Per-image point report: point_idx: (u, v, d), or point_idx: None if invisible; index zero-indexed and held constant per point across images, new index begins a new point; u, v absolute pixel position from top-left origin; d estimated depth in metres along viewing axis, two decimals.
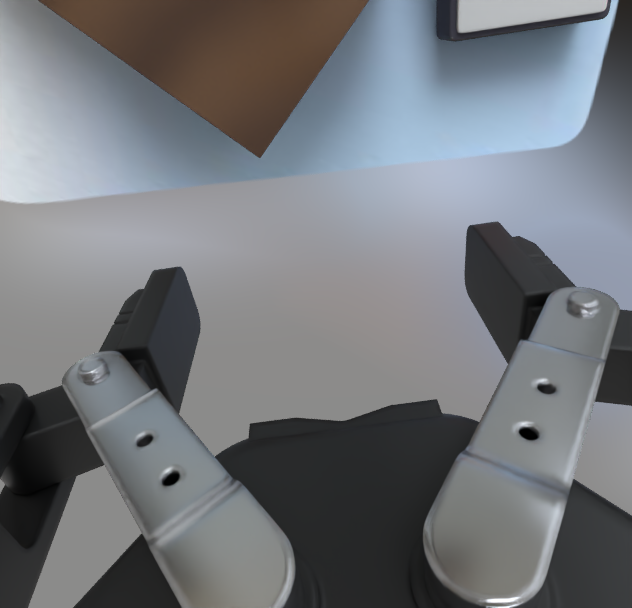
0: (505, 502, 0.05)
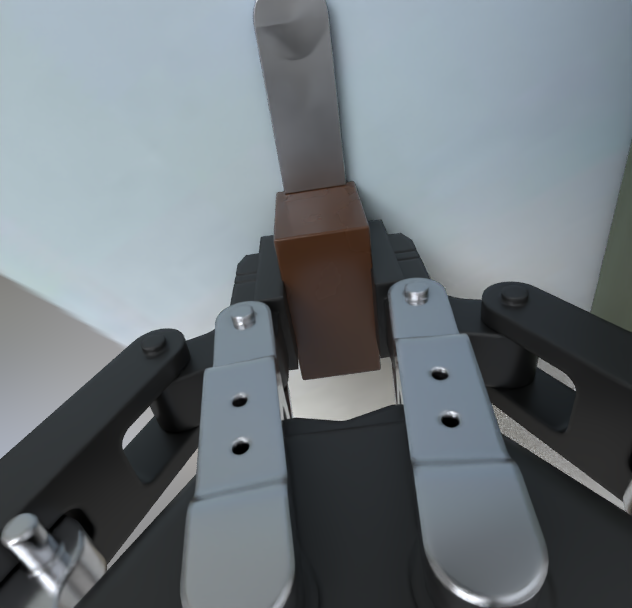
0: (477, 494, 0.05)
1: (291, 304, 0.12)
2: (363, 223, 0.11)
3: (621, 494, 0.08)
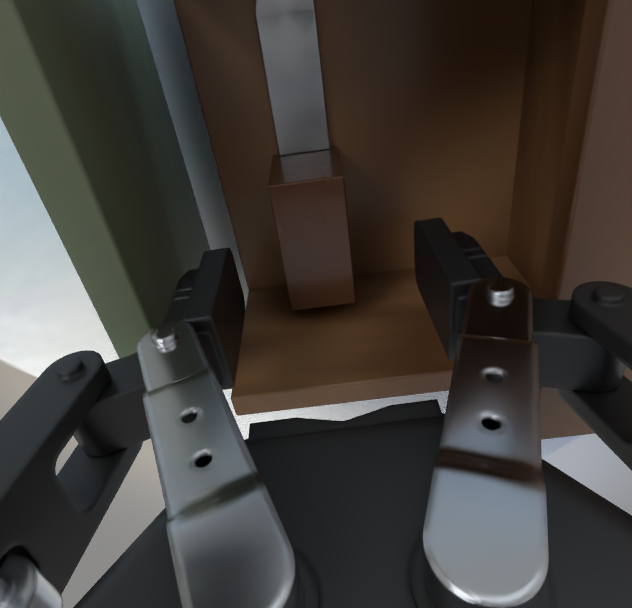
0: (492, 496, 0.05)
1: (282, 242, 0.14)
2: (339, 174, 0.13)
3: None
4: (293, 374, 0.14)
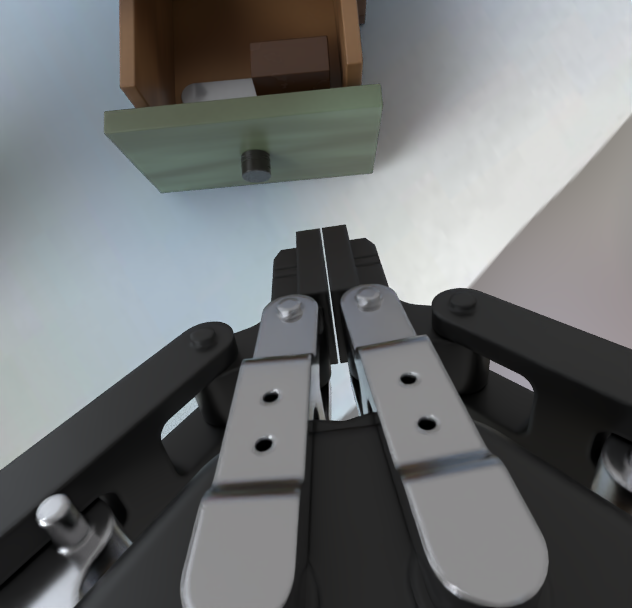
0: (468, 494, 0.05)
1: (283, 72, 0.26)
2: (250, 46, 0.27)
3: None
4: (343, 39, 0.24)
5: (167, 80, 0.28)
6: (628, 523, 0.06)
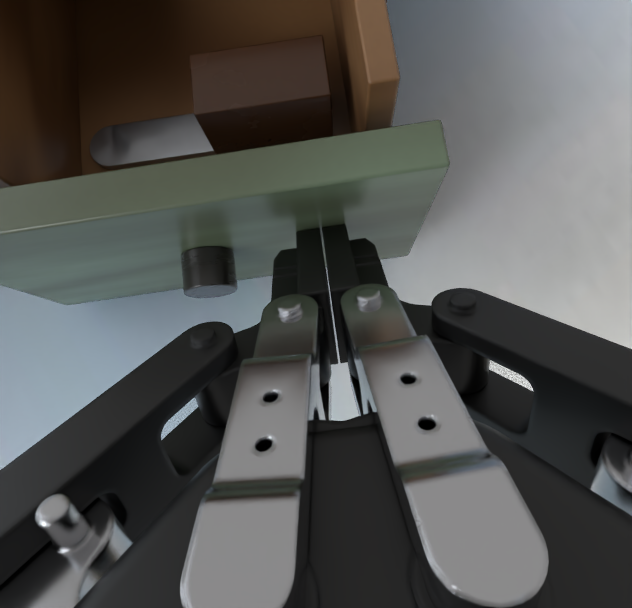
0: (468, 494, 0.05)
1: (249, 103, 0.15)
2: None
3: None
4: (356, 36, 0.12)
5: (61, 124, 0.17)
6: (628, 523, 0.06)
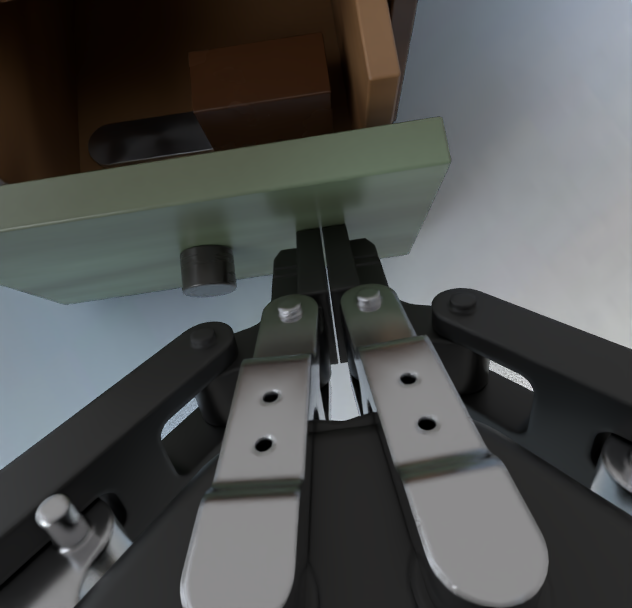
0: (468, 494, 0.05)
1: (249, 101, 0.15)
2: (189, 58, 0.15)
3: None
4: (356, 33, 0.12)
5: (59, 122, 0.17)
6: (628, 523, 0.06)
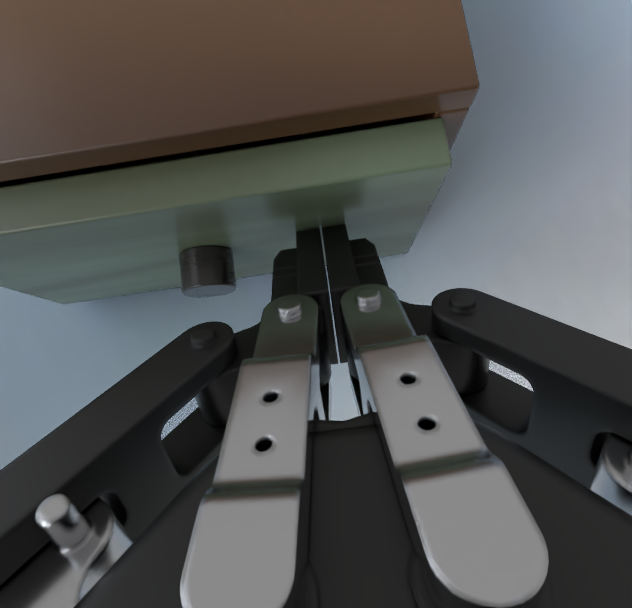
0: (468, 494, 0.05)
1: None
2: None
3: None
4: None
5: None
6: (628, 523, 0.06)
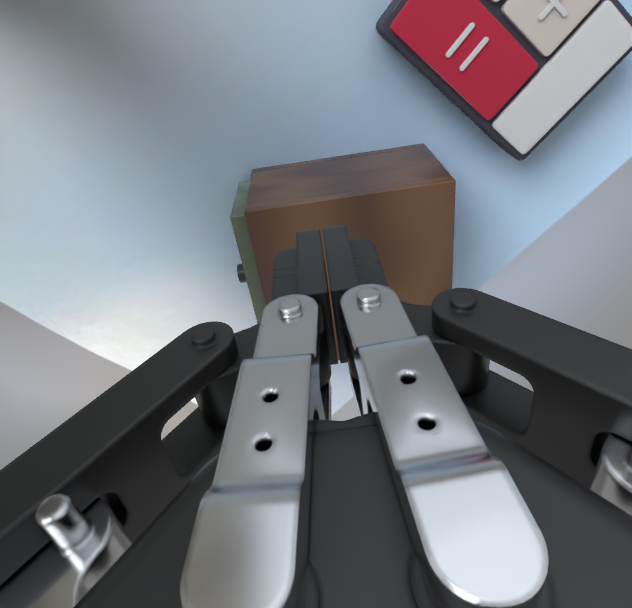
0: (468, 494, 0.05)
1: None
2: None
3: None
4: None
5: None
6: (628, 523, 0.06)
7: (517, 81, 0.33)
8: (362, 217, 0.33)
